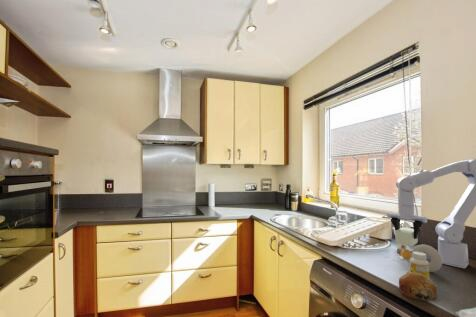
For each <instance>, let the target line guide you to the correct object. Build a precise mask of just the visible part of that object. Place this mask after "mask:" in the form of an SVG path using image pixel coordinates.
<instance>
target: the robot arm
mask: <svg viewBox="0 0 476 317" xmlns="http://www.w3.org/2000/svg"><path fill="white" fill-rule="evenodd" d="M452 173H453V174H454V173H461V174H462V175H463V176H465V177H466V179H467V181H468V183H469V184H468V186H467V187H466V189H465V191H464V192H463V194H462V195H461V197H460V198H459V200H458V202H457V203H456V204H455V206H454V208H453V209H452V211H451V212H450V214H449V215H448V216H446V217H445V218H443V220H442V221H441V222H439V223H437V225H436V226H435V233H436V235H437V236H438V238H437V252H438V253H439V254H440V256H441V258H442V265H447V266H452V267H456V268H461V269H466V268H467V267H468V266H469V249H468V247H469V246H468V244H467V243H463V242H461V241H462V240H463V238H464V232H465V230H466V225H465V223H466V222H467V220H468V218H469V217H470V215H471V214H472V213H473V211H474V210H475V207H476V158H473V159H468V158H467V159H463V160H459V161H454V162H452V163H448V164H445V165H443V166H441V167H438V168H436V169H433V170H431V171H430V170H427V169H424V170H423V169H419V170H418V172H416V173H412V174H410V173H409V174H407V175H406V176H405V177H404V176H402V177H400V178H398V179H397V181H396V183H395V185H396V188H397V190H398V191H397V192H398V193H397V194H398V195H397V200H398V201H397V204H398V205H397V206H398V211H397V212H398V213H395V212H392V213H391V212H388V213H387V214H386V216H387V218H388V219H390V223H391V224H392V227H393V226H394V228H395V231H396V230H398V229H400V221H401V219H403V221H411V222H412V227H413V228H412V229H414V239H417V236H418V235H419V233H420V229H421V227H422V225H423V223H428V217H426V216H419V215H415V194H414V190H415V189H416V188H420V187H422V186H426V185H429V184H431V183H433V182H434V180H435V179H436V178H440V177H444V176H446V175H450V174H452Z"/></svg>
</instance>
